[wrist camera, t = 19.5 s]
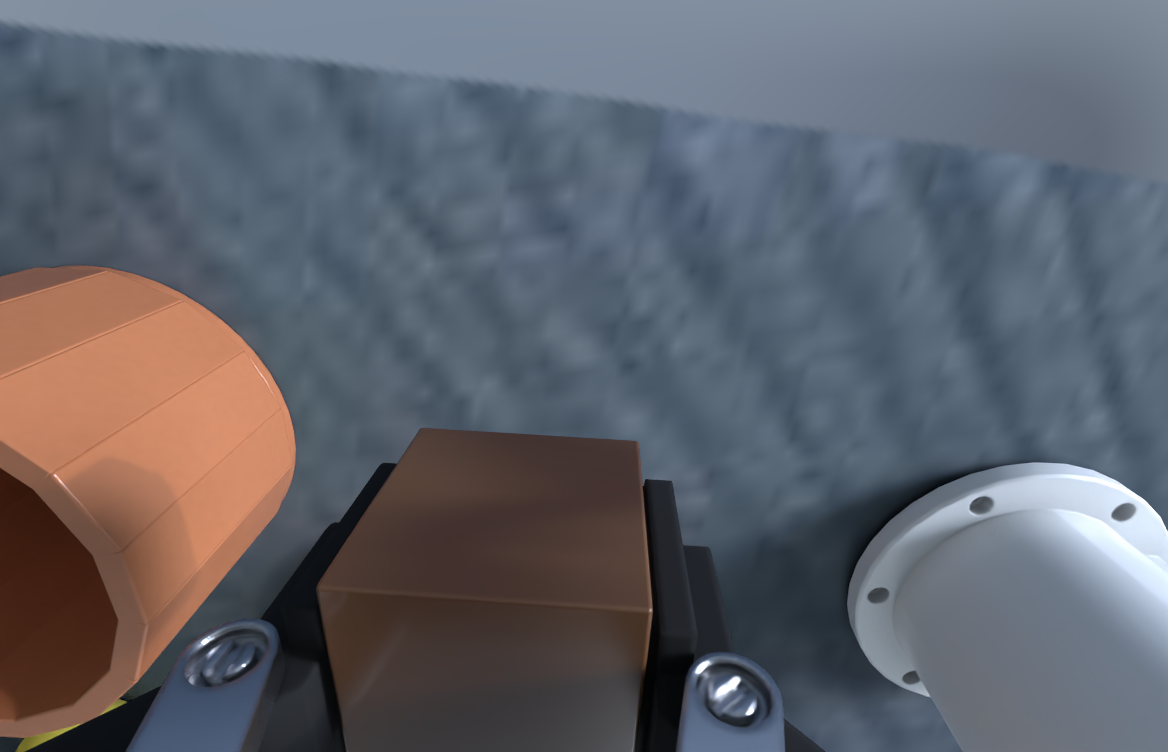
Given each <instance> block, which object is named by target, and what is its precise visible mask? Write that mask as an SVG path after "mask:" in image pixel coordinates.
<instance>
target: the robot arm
mask: <svg viewBox="0 0 1168 752" xmlns="http://www.w3.org/2000/svg"><path fill="white" fill-rule="evenodd" d="M396 465H397V464H395V463H382V464H381V465H380V466H379V467H378V469H377V470H376V471H375V473H374V474H373V476H372V477H371V478H370V480H369V481H368V483H367V484H366V486H365V487H364V488H363V490H362V491H361V493H360V494H359V495H358V497H357V498H356V500H355V501H354V502H353V504H352V505H351V507H350V508H349V510H348V511H347V512H346V514H345V515H344V517H343V518H342V519H341V521H340V522H339V523H336V522H335V523H333V524H331V525H330V526H329V527H328V528H327V529H326V530H325V531H324V533H323V534H322V535H321V537H320V538H319V540H318V541H317V542H316V544H315V545H314V546H313V548H312V549H311V551H310V552H309V553H308V555H307V556H306V557H305V559H304V560H303V562H302V563H301V564H300V566H299V567H298V568H297V570H296V571H295V572H294V574H293V575H292V577H291V578H290V579H289V581H288V582H287V583H286V585H285V586H284V588H283V589H282V590H281V592H280V593H279V594H278V596H277V597H276V599H275V600H274V601H273V603H272V604H271V605H270V607H269V608H268V609H267V611H266V612H265V614H264V615H263V616H262V618H261V619H240V620H235V621H230V622H227V623H224V624H222V625H219V626H217V627H214V628H212V629H210V630H209V631H207V632H205V633H204V634H202V635H200V636H199V637H197V638H196V639H195V640H194V641H193V642H192V643H190V644H189V645H188V646H187V647H186V648H185V649H184V650H183V652H182V653H181V654H180V656H179V657H178V658H177V660H176V661H175V663H174V665H173V667H172V668H171V670H170V672H169V674H168V676H167V677H166V679H165V681H164V683H163V685H162V686H160V687H158V688H156V689H154V690H152V691H150V692H148V693H145V694H143V695H141V696H139V697H137V698H135V699H133V700H131V701H129V702H127V703H125V704H123V705H120V706H118V707H116V708H114V709H112V710H110V711H108V712H106V713H104V714H102V715H100V716H98V717H96V718H93V719H91V720H89V721H87V722H85V723H83V724H81V725H79V726H77V727H75V728H73V729H71V730H68V731H66V732H64V733H62V734H60V735H58V736H56V737H54V738H52V739H50V740H48V741H46V742H43V743H41V744H39V745H37V746H35V747H33V748H31V749H29V750H27V751H25V752H346V747H345V742H344V737H343V731H342V726H341V720H340V715H339V710H338V704H337V699H336V694H335V688H334V683H333V678H332V672H331V667H330V662H329V656H328V651H327V646H326V640H325V635H324V630H323V624H322V619H321V613H320V608H319V603H318V597H317V592H316V588H317V585H318V583H319V582H320V580H321V579H322V577H323V576H324V574H325V572H326V571H327V569H328V568H329V566H330V565H331V563H332V562H333V560H334V559H335V557H336V556H337V554H338V553H339V551H340V550H341V548H342V547H343V545H344V544H345V542H346V541H347V539H348V538H349V536H350V535H351V533H352V532H353V530H354V528H355V527H356V525H357V524H358V522H359V521H360V519H361V518H362V516H363V515H364V513H365V512H366V510H367V509H368V507H369V506H370V504H371V503H372V501H373V500H374V498H375V497H376V495H377V494H378V492H379V491H380V489H381V488H382V486H383V485H384V483H385V481H386V480H387V478H388V477H389V475H390V474H391V472H392V471H393V469H394V468H395V466H396ZM643 497H644V509H645V522H646V534H647V546H648V558H649V570H650V582H651V594H652V606H653V614H652V622H651V631H650V639H649V647H648V656H647V664H646V673H645V681H644V689H643V698H642V706H641V714H640V723H639V731H638V739H637V748H636V752H825V751H824V750H823V749H822V748H820V747H819V746H818V745H817V744H815V743H814V742H813V741H812V740H810V739H809V738H808V737H807V736H805V735H804V734H803V733H802V732H800V731H799V730H798V729H796V728H795V727H794V726H793V725H791V724H790V723H789V722H788V721H786V720H785V719H784V716H783V703H782V698H781V693H780V690H779V689H778V687H777V685H776V683H775V682H774V680H773V678H772V677H771V676H770V675H769V674H768V673H767V672H766V671H765V670H764V669H763V668H762V667H761V666H759V665H758V664H756V663H755V662H753V661H752V660H750V659H749V658H746V657H743V656H741V655H738V654H735V653H734V648H733V644H732V640H731V636H730V631H729V627H728V623H727V618H726V614H725V610H724V606H723V601H722V597H721V593H720V588H719V584H718V580H717V576H716V571H715V567H714V563H713V558H712V554H711V551H710V549H709V548H708V547H700V546H685V545H683V544H682V538H681V532H680V526H679V520H678V514H677V508H676V502H675V496H674V490H673V484H672V481H665V480H649V479H646V480H645V483H644V486H643ZM847 608H848V615H849V621H850V625H851V627H852V630H853V632H854V634H855V636H856V638H857V641H858V643H859V645H860V647H861V649H862V650H863V652H864V654H865V655H866V657H867V658H868V660H869V661H870V663H871V664H872V665H873V666H874V667H875V668H876V669H877V670H878V671H879V672H880V673H881V674H882V675H883V676H884V677H886V678H887V679H889V680H890V681H892V682H894V683H895V684H897V685H898V686H900V687H902V688H905V689H908V690H910V691H913V692H916V693H919V694H921V695H924V696H928V697H931V698H932V700H933V702H934V704H935V705H936V707H937V709H938V710H939V712H940V714H941V716H942V717H943V719H944V721H945V722H946V724H947V726H948V727H949V729H950V731H951V733H952V734H953V736H954V738H955V739H956V741H957V743H958V745H959V746H960V748H961V750H962V751H963V752H1168V532H1167V530H1166V528H1165V526H1164V524H1163V522H1162V519H1161V517H1160V516H1159V515H1158V514H1157V513H1156V512H1155V511H1154V510H1153V509H1152V508H1151V507H1150V505H1149V504H1148V503H1147V502H1146V501H1145V500H1144V499H1142V498H1141V497H1139V496H1138V495H1136V494H1135V493H1133V492H1132V491H1131V490H1129V489H1128V488H1126V487H1125V486H1123V485H1122V484H1120V483H1119V482H1118V481H1116V480H1114V479H1111V478H1109V477H1107V476H1105V475H1103V474H1101V473H1098V472H1096V471H1094V470H1090V469H1086V468H1082V467H1077V466H1073V465H1068V464H1059V463H1038V462H1033V463H1024V464H1015V465H1006V466H1000V467H996V468H992V469H988V470H985V471H981V472H977V473H973V474H970V475H967V476H965V477H962V478H960V479H957V480H955V481H952V482H950V483H948V484H945V485H943V486H940V487H938V488H937V489H935V490H933V491H932V492H930V493H928V494H926V495H925V496H923V497H921V498H920V499H918V500H916V501H914V502H913V503H911V504H910V505H909V506H908V507H906V508H905V509H904V510H903V511H901V512H900V513H899V514H898V515H896V516H895V517H894V518H893V519H891V520H890V521H889V522H888V523H887V524H886V525H885V526H884V527H883V529H882V530H881V531H880V532H879V533H878V534H877V535H876V536H875V537H874V538H873V539H872V541H871V542H870V543H869V545H868V546H867V548H866V550H865V551H864V553H863V554H862V556H861V558H860V559H859V561H858V562H857V565H856V568H855V570H854V573H853V576H852V578H851V581H850V584H849V592H848V600H847Z"/></svg>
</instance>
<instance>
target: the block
mask: <svg viewBox="0 0 1168 752" xmlns="http://www.w3.org/2000/svg"><path fill="white" fill-rule="evenodd" d="M316 592H317V597H318V603H319V608H320V613H321V619H322V624H323V630H324V635H325V640H326V646H327V651H328V656H329V662H330V667H331V672H332V678H333V683H334V688H335V694H336V699H337V704H338V710H339V715H340V720H341V726H342V731H343V737H344V742H345V747H346V752H636V748H637V739H638V731H639V723H640V714H641V706H642V698H643V689H644V681H645V673H646V664H647V656H648V647H649V639H650V631H651V622H652V614H653V606H652V594H651V582H650V570H649V558H648V546H647V534H646V522H645V509H644V497H643V485H642V473H641V461H640V449H639V443H638V442H637V441H628V440H612V439H596V438H579V437H563V436H546V435H530V434H514V433H497V432H481V431H465V430H448V429H432V428H421V429H420V430H419V431H418V433H417V434H416V436H415V438H414V439H413V441H412V442H411V444H410V445H409V447H408V448H407V450H406V451H405V453H404V454H403V456H402V457H401V459H400V460H399V462H398V463H397V465H396V466H395V468H394V469H393V471H392V472H391V474H390V475H389V477H388V478H387V480H386V481H385V483H384V485H383V486H382V488H381V489H380V491H379V492H378V494H377V495H376V497H375V498H374V500H373V501H372V503H371V504H370V506H369V507H368V509H367V510H366V512H365V513H364V515H363V516H362V518H361V519H360V521H359V522H358V524H357V525H356V527H355V528H354V530H353V532H352V533H351V535H350V536H349V538H348V539H347V541H346V542H345V544H344V545H343V547H342V548H341V550H340V551H339V553H338V554H337V556H336V557H335V559H334V560H333V562H332V563H331V565H330V566H329V568H328V569H327V571H326V572H325V574H324V576H323V577H322V579H321V580H320V582H319V583H318V585H317V588H316Z"/></svg>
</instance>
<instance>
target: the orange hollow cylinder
mask: <svg viewBox="0 0 1168 752" xmlns="http://www.w3.org/2000/svg"><path fill="white" fill-rule="evenodd" d="M295 454H296V445H295V437H294V429H293V425H292V422H291V418H290V414H289V411H288V408H287V406H286V403H285V401H284V399H283V396H282V394H281V392H280V390H279V388H278V386H277V384H276V383H275V381H274V379H273V377H272V376H271V374H270V372H269V371H268V370H267V368H266V367H265V366H264V364H263V363H262V361H261V360H260V359H259V357H258V356H257V355H256V353H255V352H254V351H253V350H252V349H251V348H250V347H249V346H248V345H247V343H246V342H245V341H244V340H243V339H242V338H241V337H240V336H239V335H238V334H237V333H236V332H235V331H233V330H232V329H231V328H230V327H229V326H228V325H227V324H226V323H225V322H224V321H222V320H221V319H220V318H218V317H217V316H215V315H214V314H213V313H211V312H210V311H209V310H207V309H206V308H205V307H203V306H202V305H200V304H198V303H197V302H195V301H193V300H192V299H190V298H188V297H187V296H185V295H183V294H182V293H180V292H178V291H176V290H174V289H171V288H169V287H167V286H165V285H163V284H161V283H159V282H156V281H153V280H150V279H147V278H145V277H142V276H139V275H136V274H133V273H129V272H124V271H120V270H115V269H111V268H105V267H96V266H86V265H75V266H57V267H51V268H42V267H37V268H31V269H27V270H23V271H20V272H16V273H12V274H8V275H4V276H0V737H18V738H26V737H33V736H37V735H41V734H45V733H49V732H52V731H56V730H60V729H64V728H68V727H71V726H75V725H79V724H83V723H85V722H87V721H89V720H91V719H93V718H96V717H98V716H100V715H101V714H102V713H103V712H105V711H106V710H107V709H108V708H109V707H110V706H111V705H112V704H113V703H115V702H116V701H117V700H118V699H119V698H120V697H121V696H122V695H123V694H125V693H126V692H127V691H128V690H129V689H130V688H131V687H132V686H133V685H135V684H136V683H137V682H138V680H139V679H140V678H141V677H142V676H143V674H144V673H145V672H146V671H147V670H148V668H149V667H150V666H151V665H152V663H153V662H154V661H155V660H156V659H157V657H158V656H159V655H160V654H161V653H162V651H163V650H164V649H165V648H166V647H167V645H168V644H169V643H170V642H171V640H172V639H173V638H174V637H175V636H176V634H177V633H178V632H179V631H180V630H181V628H182V627H183V626H184V625H185V624H186V622H187V621H188V620H189V619H190V617H191V616H192V615H193V614H194V613H195V611H196V610H197V609H198V608H199V607H200V605H201V604H202V603H203V602H204V600H205V599H206V598H207V597H208V596H209V594H210V593H211V592H212V591H213V590H214V588H215V587H216V586H217V585H218V584H219V582H220V581H221V580H222V579H223V577H224V576H225V575H226V574H227V573H228V571H229V570H230V569H231V568H232V567H233V565H234V564H235V563H236V562H237V561H238V559H239V558H240V557H241V556H242V554H243V553H244V552H245V551H246V550H247V548H248V547H249V546H250V545H251V544H252V542H253V541H254V540H255V539H256V537H257V536H258V535H259V534H260V533H261V531H262V530H263V529H264V528H265V527H266V525H267V524H268V523H269V522H270V521H271V519H272V518H273V517H274V516H275V514H276V513H277V512H278V510H279V508H280V505H281V502H282V501H283V499H284V498H285V496H286V494H287V491H288V489H289V486H290V484H291V481H292V477H293V472H294V468H295Z"/></svg>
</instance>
